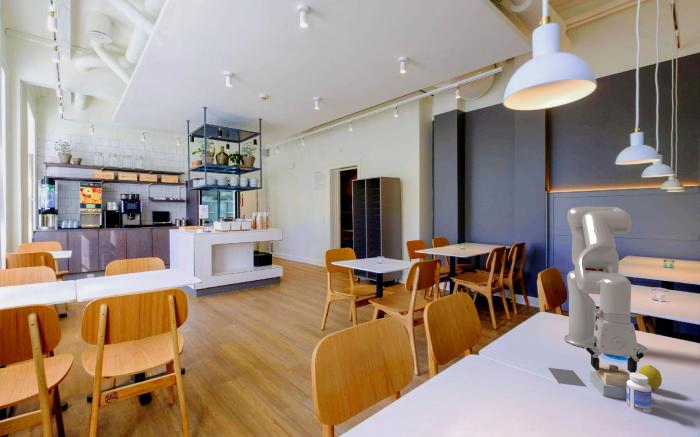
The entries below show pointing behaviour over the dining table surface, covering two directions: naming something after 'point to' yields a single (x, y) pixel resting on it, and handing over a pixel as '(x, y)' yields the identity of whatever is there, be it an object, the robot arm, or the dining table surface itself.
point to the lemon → (651, 376)
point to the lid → (613, 375)
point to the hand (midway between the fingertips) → (613, 370)
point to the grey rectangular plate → (566, 377)
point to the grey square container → (608, 387)
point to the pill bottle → (639, 393)
